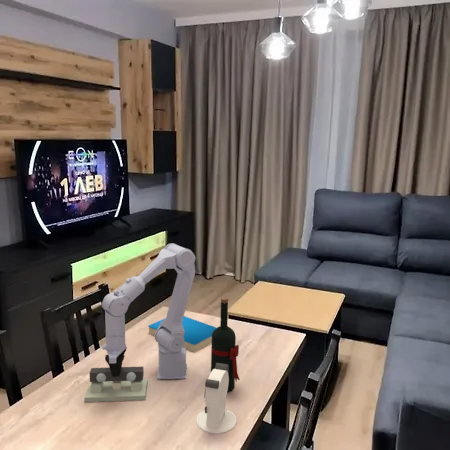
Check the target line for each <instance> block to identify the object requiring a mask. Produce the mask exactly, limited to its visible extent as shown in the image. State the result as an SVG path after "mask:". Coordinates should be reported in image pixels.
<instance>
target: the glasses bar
mask: <svg viewBox="0 0 450 450" xmlns="http://www.w3.org/2000/svg"><path fill="white" fill-rule="evenodd" d="M90 368H91V369H90V370H89V383H90V382H107V381H137V380H143V378H144V376H145V375H144V374H145V373H144V366H122V367H121V371H120V375H119V377H112V374H111V370H110V367H109V366H108V367H90Z"/></svg>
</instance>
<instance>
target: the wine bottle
mask: <svg viewBox="0 0 450 450" xmlns="http://www.w3.org/2000/svg"><path fill="white" fill-rule="evenodd" d="M228 301H229V298H228V297H222V298H220V322H219V323H220V325H219V326H217V327H216V329H215V330H214V331H213V333H212V343H211V350H210V351H211V353H210V354H211V356H210V373H211V372H212V370H213V369H215V366H216V363H221V364H227V365H229V370H228V376H229V384H228V391H227V394H228V393H231V392H233V391H234V389H235V388H236V387H235V386H236V383H237V380H239V381H240V377H239V373H238V365H237V363H238V362H237V357H238V356H239V354H240V353H239V349H240V348H239V347H240V346H239V344H236V341H237V340H236V339H237V338H236V333H235V331H234V330H233V328H231V327H230V326H228V319H229V317H228V316H229V315H228V312H229V302H228Z"/></svg>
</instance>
